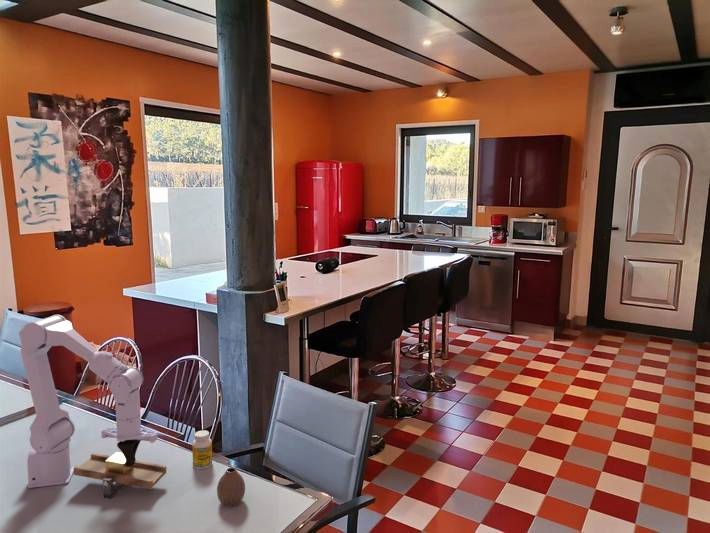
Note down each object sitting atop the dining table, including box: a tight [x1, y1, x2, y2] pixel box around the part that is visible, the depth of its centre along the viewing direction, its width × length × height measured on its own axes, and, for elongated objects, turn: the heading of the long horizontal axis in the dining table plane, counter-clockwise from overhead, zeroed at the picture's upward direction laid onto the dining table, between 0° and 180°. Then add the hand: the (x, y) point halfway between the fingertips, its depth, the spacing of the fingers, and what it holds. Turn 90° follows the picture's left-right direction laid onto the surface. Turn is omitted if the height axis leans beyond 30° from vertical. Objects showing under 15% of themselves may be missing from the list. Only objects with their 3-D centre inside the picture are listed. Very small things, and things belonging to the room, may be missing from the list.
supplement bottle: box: [191, 429, 213, 470], centre depth 146 cm, size 5×5×10 cm
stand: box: [102, 458, 137, 499], centre depth 135 cm, size 2×12×5 cm, turn 171°
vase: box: [216, 467, 246, 508], centre depth 129 cm, size 7×7×9 cm
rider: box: [106, 451, 134, 475], centre depth 134 cm, size 5×5×4 cm
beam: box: [73, 452, 167, 490], centre depth 135 cm, size 22×8×2 cm, turn 81°
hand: (130, 464), depth 134 cm, fingers closed
